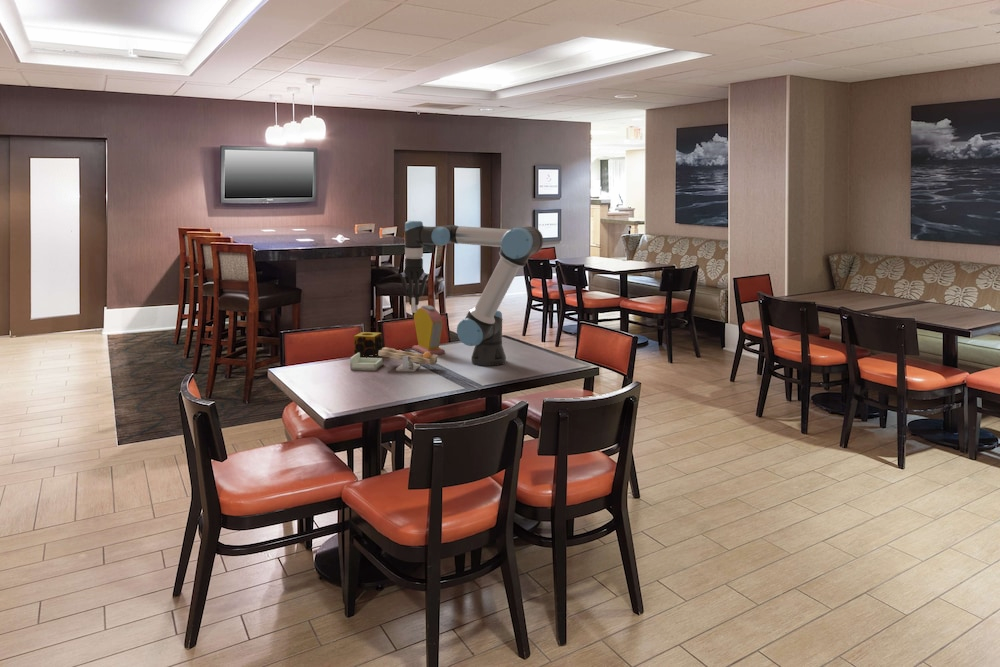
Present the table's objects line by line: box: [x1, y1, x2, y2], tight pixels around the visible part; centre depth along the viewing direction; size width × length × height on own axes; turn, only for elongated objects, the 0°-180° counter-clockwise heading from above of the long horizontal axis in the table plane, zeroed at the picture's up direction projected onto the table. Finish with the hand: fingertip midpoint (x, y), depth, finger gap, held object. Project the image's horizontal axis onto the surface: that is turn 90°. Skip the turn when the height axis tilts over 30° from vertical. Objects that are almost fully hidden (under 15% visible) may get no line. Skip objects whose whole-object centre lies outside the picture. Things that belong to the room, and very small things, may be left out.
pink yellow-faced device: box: [411, 305, 446, 356], centre depth 346 cm, size 22×9×22 cm, turn 30°
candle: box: [353, 331, 383, 358], centre depth 339 cm, size 10×10×10 cm
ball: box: [422, 352, 432, 359], centre depth 313 cm, size 4×4×4 cm
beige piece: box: [378, 346, 439, 366], centre depth 317 cm, size 25×13×4 cm, turn 84°
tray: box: [349, 353, 384, 371], centre depth 317 cm, size 11×11×5 cm
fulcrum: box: [395, 351, 421, 373], centre depth 314 cm, size 8×10×6 cm
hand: (414, 312), depth 322 cm, fingers closed
